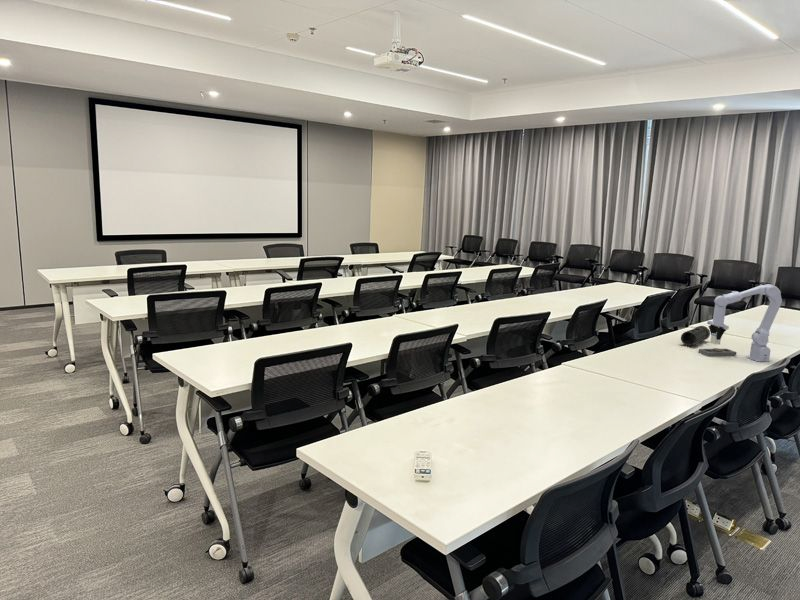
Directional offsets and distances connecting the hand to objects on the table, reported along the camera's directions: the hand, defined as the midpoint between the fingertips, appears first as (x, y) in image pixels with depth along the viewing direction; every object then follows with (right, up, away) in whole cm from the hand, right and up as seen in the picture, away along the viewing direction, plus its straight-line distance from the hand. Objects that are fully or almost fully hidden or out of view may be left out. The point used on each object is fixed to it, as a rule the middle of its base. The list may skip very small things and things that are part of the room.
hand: (715, 338), depth 319 cm
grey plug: (0, -3, +1) cm, 3 cm away
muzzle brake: (+3, -6, +27) cm, 28 cm away
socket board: (+2, -10, +2) cm, 10 cm away
